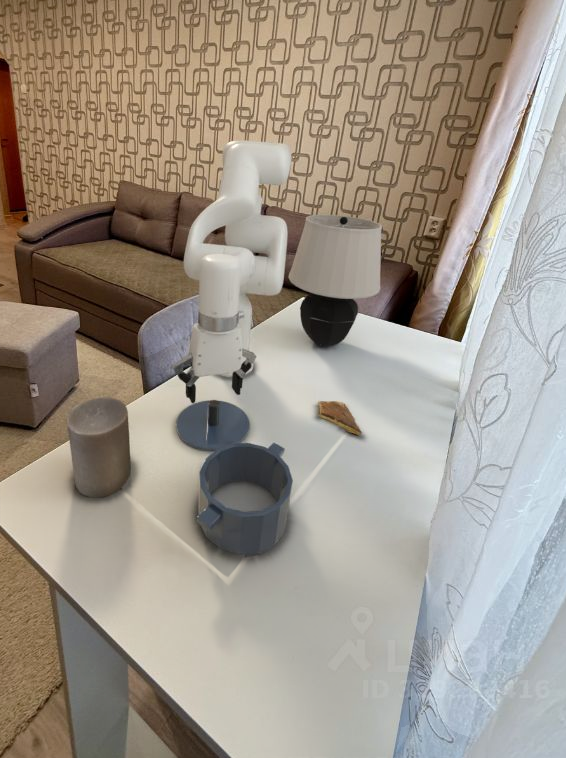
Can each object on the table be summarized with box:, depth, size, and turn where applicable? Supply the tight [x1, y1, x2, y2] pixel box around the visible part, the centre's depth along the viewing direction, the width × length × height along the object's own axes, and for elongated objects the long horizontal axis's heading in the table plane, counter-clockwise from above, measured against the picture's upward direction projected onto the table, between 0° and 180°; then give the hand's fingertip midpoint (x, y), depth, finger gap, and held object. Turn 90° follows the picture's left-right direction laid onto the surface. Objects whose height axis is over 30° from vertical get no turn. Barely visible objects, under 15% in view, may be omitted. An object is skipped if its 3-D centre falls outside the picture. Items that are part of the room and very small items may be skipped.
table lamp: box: [288, 214, 383, 348], centre depth 118 cm, size 27×27×40 cm
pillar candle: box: [66, 397, 132, 498], centre depth 68 cm, size 10×10×15 cm
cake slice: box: [317, 400, 363, 436], centre depth 89 cm, size 11×8×2 cm
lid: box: [175, 399, 251, 452], centre depth 84 cm, size 16×16×6 cm
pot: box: [196, 442, 294, 557], centre depth 64 cm, size 15×20×8 cm
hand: (214, 395), depth 81 cm, fingers open, 9 cm apart
